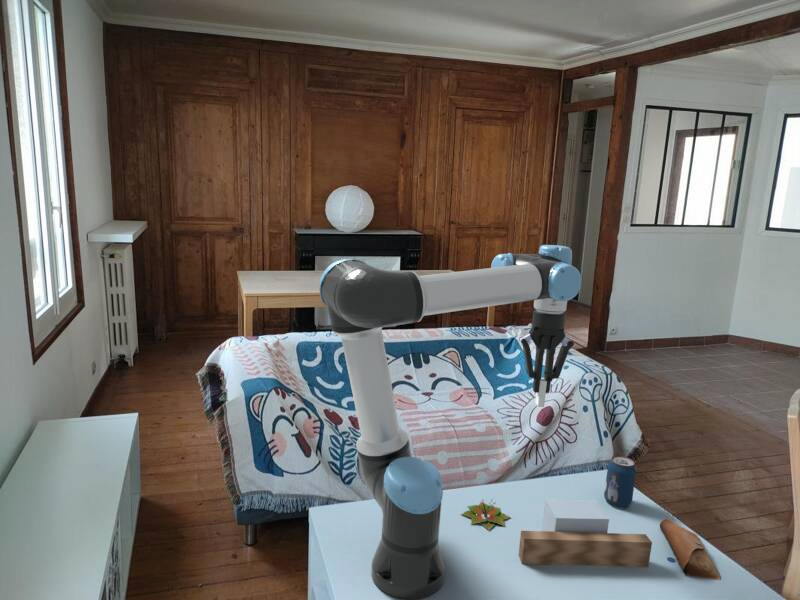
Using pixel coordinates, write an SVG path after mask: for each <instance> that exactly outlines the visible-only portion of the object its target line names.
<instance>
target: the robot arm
mask: <svg viewBox="0 0 800 600" xmlns="http://www.w3.org/2000/svg"><path fill="white" fill-rule="evenodd" d="M572 263H573V251H572V249H571V248H570V247H569V246H566V245H565V246H564V245H557V244H556V245H555V244H543V245H540V247H539V251H538V253H533V254H532V253H511V252H508V253H500V254H497V255H496V256H495V257H494V258H493V260H492V262H491V265H490V267H489V268H488V267H487V268H477V269H471V270H462V271H453V272H444V273H443V272H442V273H435V274H427V275H425V274H423V275H418V274H417V273H416V272H415V271H403V272H402V271H401V272H398V271H397V272H395V271H388V270H384V269H379V268H377V267H374V266H372V265H369V264H367V263H366V262H365V261H363V260H361V259H355V258H344V259H343V258H342V259H340V260H336V261H334V262H332V263H330V264H329V266H328V267H326V268H325V270H324V271H323V273H322V274H321V277H320V279H319V283H318V284H319V285H318V291H319V296H320V299H321V302H322V303H323V304H324V306H325V307H327V314H328V319H329V323H330V327H331V330H332V333H334V334H336V335H337V336H339V337H340V340H341V345H342V347H343V354H344V358H345V362H346V363H345V364H346V368H347V373H348V378H349V383H350V387H351V392H352V396H353V402H354V407H355V412H356V416H357V422H358V426H359V427H358V428H359V431H360V436H359V438H358V439H357V441H356V444H355V447H356V454H355V467H356V471H357V475H358V477H359V479H360V480H361V482H362V483H363V484H364V485H365V487H366V488H367V489H368V491H369V493H370V494H371V496H372V497H373V499H374V500H375V502H376V503H377V504H378V506H379V507H380V510H381V511H382V522H381V525H382V526H381V527H382V528H381V538H380V541H379V543H378V545H377V547H376V550H375V553H374V555H373V558H372V561H371V571H370V572H371V574H370V576H371V578H372V581H373V583H374V584H375V586H376V587H377V588H378V589H379V590H380V591H382V592H384V593H385V594H387V595H389V596H391V597H394V598H399V599H405V600H418V599H423V598H427V597H429V596H431V595H433V594H435V593H437V592H438V591H439V590H440V589H441V587H442V586H443V585H444V582H445V575H446V574H445V571H446V567H445V562H444V558H443V555H442V551H441V546H440V544H439V535H440V524H441V512H442V511H441V510H442V500H443V493H444V492H443V491H444V489H443V477H442V475H441V472H440V471H439V469H438V468H437V467H436V465H434V464H433V463H431V462H430V461H428V460H423V459H422V458H420V457H415V456H413V455H412V451H411V446H410V440H409V435H408V433H407V431H406V430H404V429H403V428H401V427H400V423H399V417H398V412H397V407H396V406H397V405H396V401H395V395H394V392H393V385H392V378H391V375H390V374H391V373H390V369H389V364H388V358H387V357H388V356H387V352H386V351H387V350H386V346H385V341H384V335H383V330H382V329H383V328H387V327H393V326H400V325H406V324H407V325H408V324H414V323H419V322H421V321H422V319H423V318H424V316H432V315H438V314H446V313H451V312H460V311H465V310H473V309H474V310H475V309H479V308H488V307H493V306H500V305H509V304H515V303H522V302H528V301H533V308H534V310H533V311H532V321H531V328H530V330H529V332H528V334H527V335H524V336H519V338H518V340H519V342H520V344H521V346H522V351H523V358H524V365H525V371H526V374H527V375H528V377H529V378H531V379H533V381H532V382H533V383H532V391H533V392H534V393H535V401H534V403H535V405H536V406H537V407H538V408H540V407H541V408H545V404H546V403H545V401H546V394H549V393H550V392H551V384H552V383H551V382H553V380H554V379H556V380H557V379H559V378H560V376H561V373H562V371H563V368H564V365H565V363H566V359H567V357H568V353H569V352H570V351H571V349H572V348H573V346H574V344H575V343H574V341H573V340H571V339H570V338H567V336H566V332H565V323H566V317H567V316H566V315H567V314H566V313H565V312H566V311H567V305H568V301H570V300H573V298H575V297H576V296H577V295H578V293H579V291H580V290H581V286H582V276H581V274H580V271H579V270H578V268H577V267H575V266H573V264H572ZM531 340H532V342H533V344H534V346H535V356H534V364H533V359H532V351H531V347H530V345H531V343H532V342H531ZM560 344H561V346H560V348H559V351H558V354H557V356H556V359H555V354H556V349H557V347H559V345H560ZM545 351H546V352H545ZM544 354H545V362H544ZM554 359H555V362H554ZM543 363H545V364H544V373H543ZM542 373H543V377H542Z"/></svg>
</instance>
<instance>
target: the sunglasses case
mask: <svg viewBox="0 0 800 600" xmlns="http://www.w3.org/2000/svg"><path fill="white" fill-rule="evenodd" d="M659 528H660V529H659V530H660V531H661V532H662V534H663V537H664V538H665V539H666V541H667V544H668V545H669V547H670V550H671V551H672V553H673V555H674V557H675V559H676V561H677V564H678V566H679V567H680V570H681V572H682V573H683V574H684V576H685V577H692V578H693V577H694V578H703V579H709V580H710V579H711V580H717V581H721V579H722V578H721V576H720V573H719V572H718V570H717V568H716V566H715V564H714V563H713V560H712V559H711V557H710V555H709V554H708V553H707V550H706V549H705V546H704V544H703V543H702V542H701V541H700V538H699V537H698V535H697V534H696V533H695V532H692V531H690V530H689V529H686V528H685V527H682V526H681V525H679V523H676V522H675V521H673V520H671V519H669V518H664V519H662V520H661V521H660V523H659Z"/></svg>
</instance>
